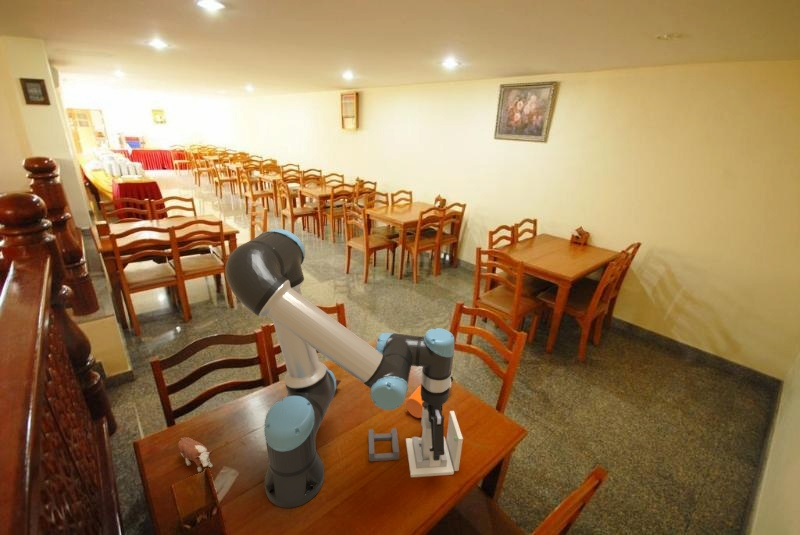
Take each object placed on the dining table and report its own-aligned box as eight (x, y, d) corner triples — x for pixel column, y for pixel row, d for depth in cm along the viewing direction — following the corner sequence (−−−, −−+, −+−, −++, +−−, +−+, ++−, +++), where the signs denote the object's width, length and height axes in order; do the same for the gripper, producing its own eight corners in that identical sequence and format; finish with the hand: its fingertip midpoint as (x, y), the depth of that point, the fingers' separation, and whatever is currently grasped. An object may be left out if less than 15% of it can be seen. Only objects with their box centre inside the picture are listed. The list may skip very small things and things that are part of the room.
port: (410, 477, 96) (413, 444, 91) (405, 441, 107) (407, 410, 103) (459, 474, 97) (463, 441, 93) (449, 438, 108) (453, 408, 104)
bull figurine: (206, 484, 92) (200, 462, 89) (178, 459, 98) (172, 437, 95) (221, 471, 95) (217, 449, 92) (193, 448, 102) (188, 427, 99)
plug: (423, 460, 100) (426, 423, 95) (420, 448, 103) (424, 412, 98) (437, 460, 100) (441, 422, 95) (434, 448, 104) (438, 411, 99)
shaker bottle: (427, 404, 110) (456, 371, 125) (404, 391, 114) (435, 361, 130) (424, 425, 113) (453, 391, 129) (402, 411, 118) (432, 380, 133)
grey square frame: (369, 461, 100) (369, 453, 99) (368, 436, 108) (368, 429, 107) (398, 459, 101) (399, 451, 100) (396, 435, 109) (396, 428, 108)
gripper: (462, 420, 81) (453, 484, 89) (439, 355, 104) (434, 410, 112) (430, 421, 80) (424, 486, 88) (414, 356, 103) (411, 411, 111)
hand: (429, 444), depth 100 cm, fingers open, 13 cm apart
